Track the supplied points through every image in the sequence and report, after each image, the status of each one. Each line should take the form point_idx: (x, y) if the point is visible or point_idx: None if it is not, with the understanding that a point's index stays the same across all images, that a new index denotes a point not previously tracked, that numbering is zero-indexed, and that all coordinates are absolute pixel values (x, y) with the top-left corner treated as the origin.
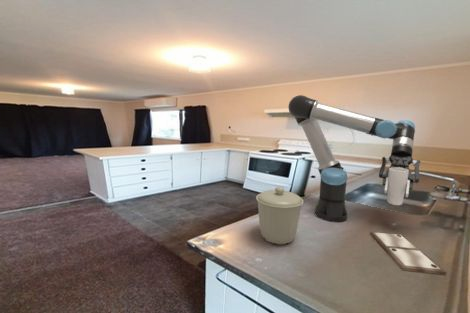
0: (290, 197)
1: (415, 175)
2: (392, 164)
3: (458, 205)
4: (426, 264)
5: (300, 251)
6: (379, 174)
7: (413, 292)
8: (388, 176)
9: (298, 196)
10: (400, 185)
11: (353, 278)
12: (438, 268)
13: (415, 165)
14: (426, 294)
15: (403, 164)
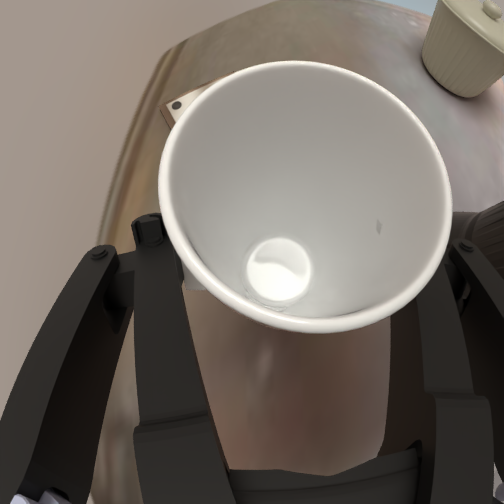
0: (466, 3)
1: (100, 289)
2: (464, 397)
3: None
4: (189, 102)
5: (396, 50)
6: (467, 241)
7: (221, 40)
8: (386, 183)
9: (472, 17)
10: (257, 172)
11: (301, 26)
12: (170, 104)
13: (33, 442)
14: (204, 46)
15: (251, 491)
